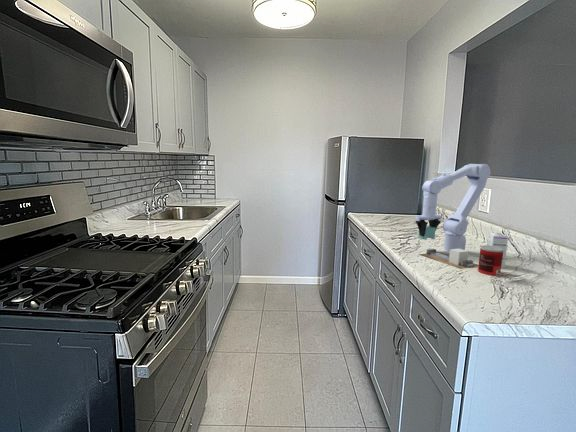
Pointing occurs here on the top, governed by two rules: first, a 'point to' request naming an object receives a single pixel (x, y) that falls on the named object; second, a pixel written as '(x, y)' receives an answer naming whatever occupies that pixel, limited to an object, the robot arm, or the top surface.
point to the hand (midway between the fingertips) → (426, 235)
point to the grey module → (458, 256)
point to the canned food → (490, 260)
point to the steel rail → (433, 253)
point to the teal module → (428, 233)
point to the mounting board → (445, 261)
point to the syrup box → (499, 243)
